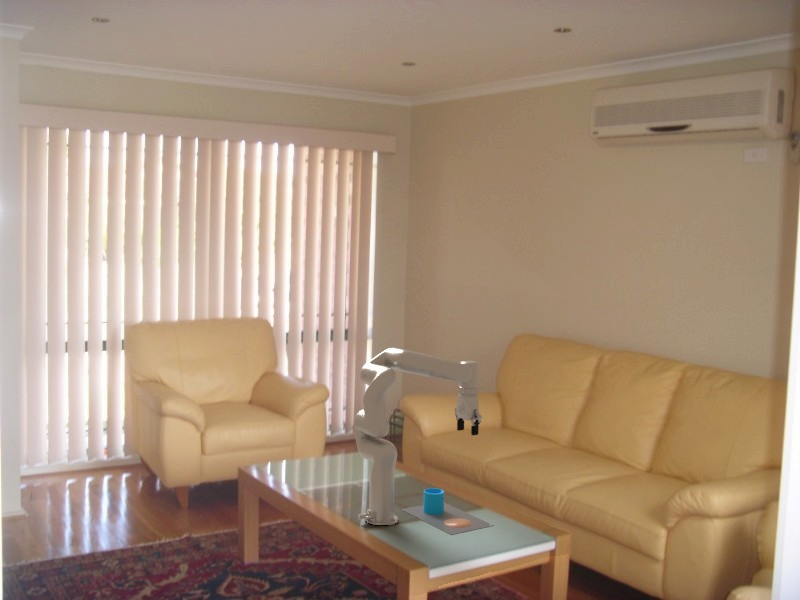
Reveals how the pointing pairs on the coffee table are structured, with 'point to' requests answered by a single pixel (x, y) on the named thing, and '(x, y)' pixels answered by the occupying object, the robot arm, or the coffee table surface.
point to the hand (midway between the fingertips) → (467, 432)
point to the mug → (433, 501)
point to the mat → (449, 519)
